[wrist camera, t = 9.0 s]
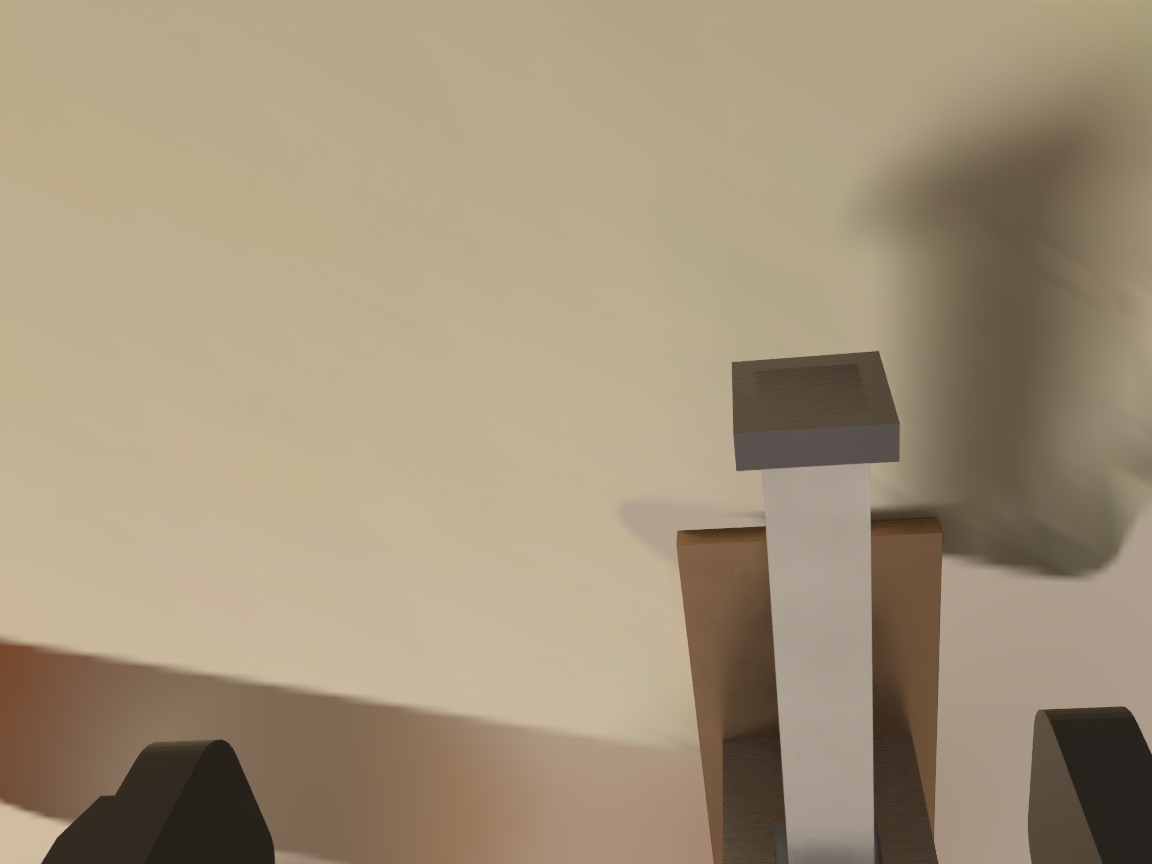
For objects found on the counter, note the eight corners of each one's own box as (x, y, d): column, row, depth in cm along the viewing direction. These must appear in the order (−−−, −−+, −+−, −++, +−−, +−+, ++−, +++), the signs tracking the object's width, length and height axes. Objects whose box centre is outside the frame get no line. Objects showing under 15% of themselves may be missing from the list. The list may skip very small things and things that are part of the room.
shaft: (878, 351, 33) (899, 423, 29) (881, 878, 44) (896, 978, 41) (732, 362, 34) (733, 433, 30) (772, 878, 45) (777, 977, 41)
